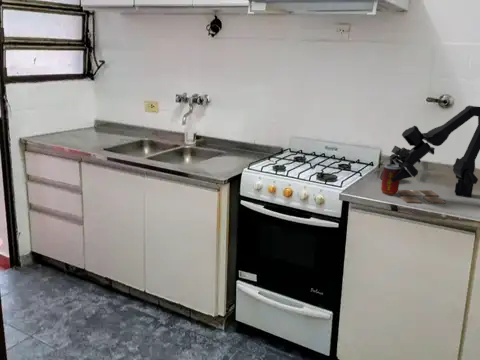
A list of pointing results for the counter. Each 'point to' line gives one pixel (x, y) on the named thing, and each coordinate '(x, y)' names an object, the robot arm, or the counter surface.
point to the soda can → (388, 174)
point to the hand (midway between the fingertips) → (387, 178)
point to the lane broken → (414, 200)
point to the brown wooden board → (417, 193)
